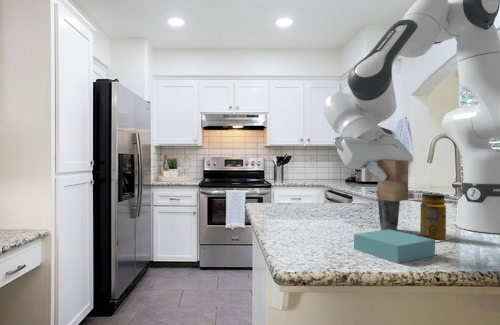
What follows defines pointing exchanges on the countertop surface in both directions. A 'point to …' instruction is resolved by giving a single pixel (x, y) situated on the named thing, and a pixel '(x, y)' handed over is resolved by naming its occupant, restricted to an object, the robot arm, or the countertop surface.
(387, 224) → the beverage cup
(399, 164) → the walnut block
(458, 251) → the countertop surface
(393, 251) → the base slab
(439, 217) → the condiment
